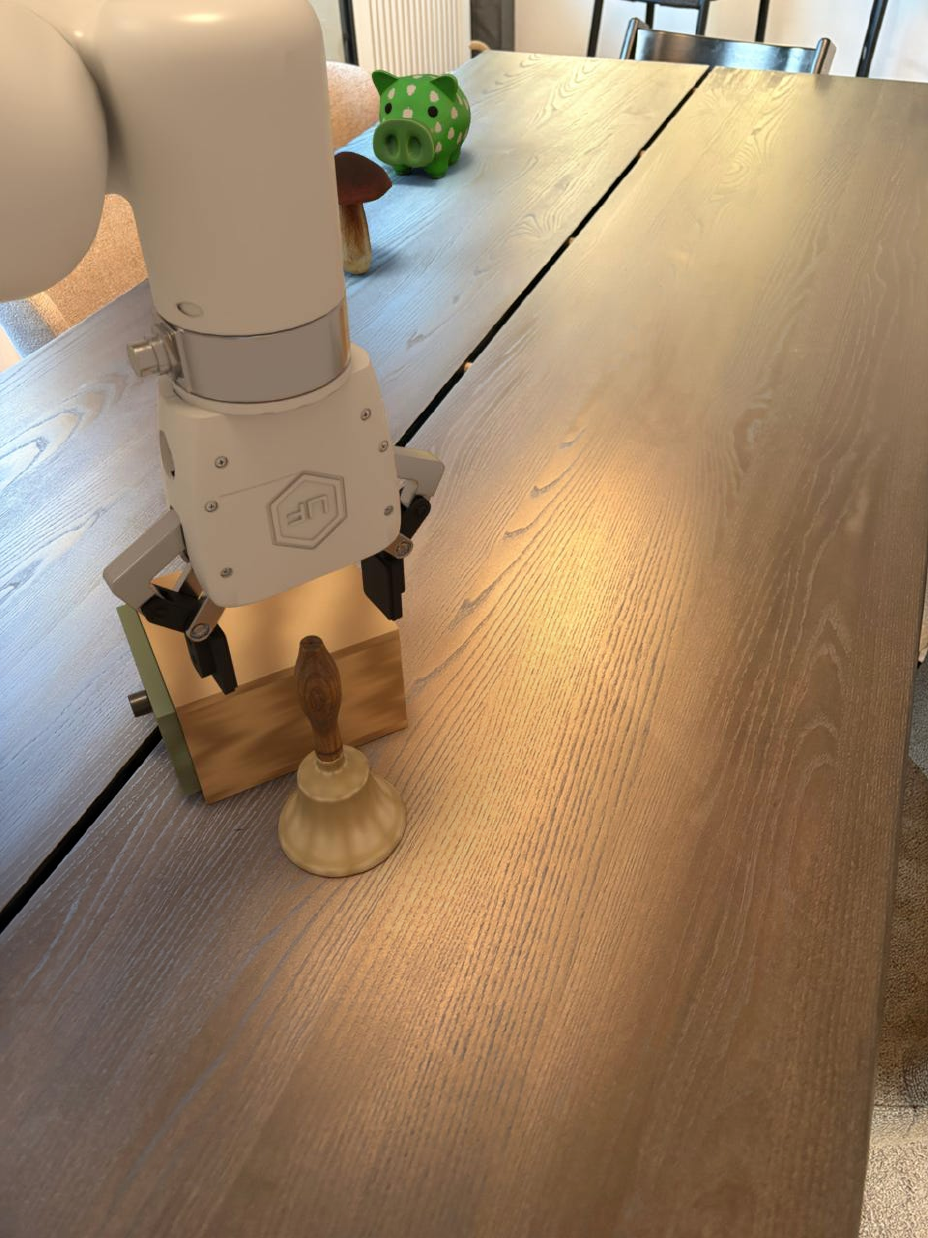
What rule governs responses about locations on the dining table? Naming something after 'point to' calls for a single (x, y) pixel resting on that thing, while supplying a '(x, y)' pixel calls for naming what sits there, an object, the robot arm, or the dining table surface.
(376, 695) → the cabinet
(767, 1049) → the dining table surface
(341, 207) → the decorative mushroom
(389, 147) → the piggy bank
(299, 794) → the hand bell
